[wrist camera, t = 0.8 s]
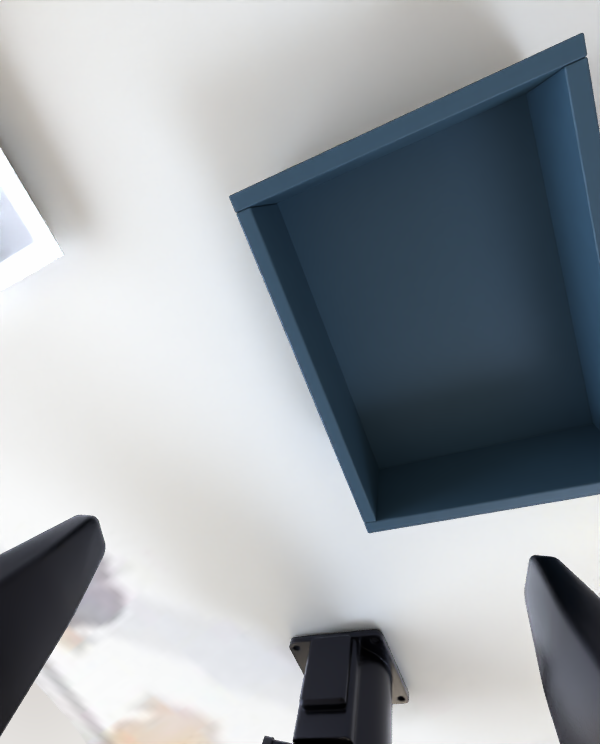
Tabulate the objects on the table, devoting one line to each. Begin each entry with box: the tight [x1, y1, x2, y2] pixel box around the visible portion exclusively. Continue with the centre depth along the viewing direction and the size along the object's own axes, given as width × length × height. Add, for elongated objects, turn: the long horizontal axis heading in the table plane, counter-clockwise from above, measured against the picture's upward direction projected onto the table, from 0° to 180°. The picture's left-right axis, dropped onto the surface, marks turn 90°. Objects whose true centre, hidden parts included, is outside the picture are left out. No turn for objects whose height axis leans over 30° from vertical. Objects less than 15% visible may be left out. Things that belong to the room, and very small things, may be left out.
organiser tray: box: [229, 33, 600, 533], centre depth 18 cm, size 15×11×5 cm
